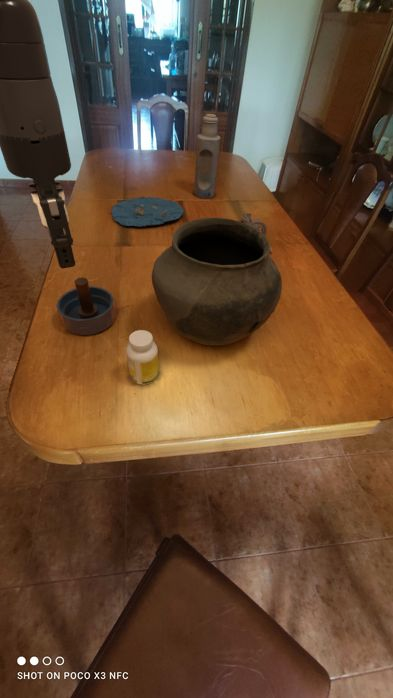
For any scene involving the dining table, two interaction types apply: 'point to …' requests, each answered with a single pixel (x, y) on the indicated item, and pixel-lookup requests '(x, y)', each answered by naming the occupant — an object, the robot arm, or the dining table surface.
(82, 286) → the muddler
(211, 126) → the bottle
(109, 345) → the dining table surface
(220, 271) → the pot
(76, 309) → the bowl
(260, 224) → the spaceship
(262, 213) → the dining table surface
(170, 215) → the decorative plate
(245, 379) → the dining table surface
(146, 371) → the pill bottle
